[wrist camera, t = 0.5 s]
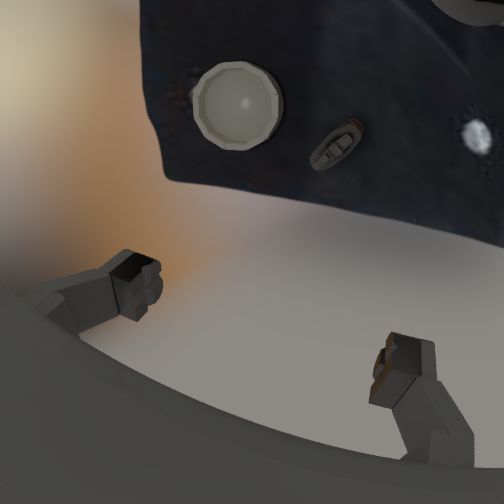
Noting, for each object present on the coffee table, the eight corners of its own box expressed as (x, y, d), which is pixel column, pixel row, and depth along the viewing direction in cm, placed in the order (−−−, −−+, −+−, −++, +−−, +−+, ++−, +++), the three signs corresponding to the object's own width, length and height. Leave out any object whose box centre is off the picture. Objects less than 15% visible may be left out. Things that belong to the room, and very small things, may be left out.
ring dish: (224, 49, 43) (215, 47, 40) (300, 89, 42) (295, 90, 40) (190, 120, 51) (181, 122, 49) (257, 161, 51) (250, 166, 48)
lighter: (352, 113, 41) (347, 120, 33) (368, 131, 42) (366, 142, 34) (314, 146, 46) (299, 161, 38) (329, 163, 47) (317, 182, 39)
